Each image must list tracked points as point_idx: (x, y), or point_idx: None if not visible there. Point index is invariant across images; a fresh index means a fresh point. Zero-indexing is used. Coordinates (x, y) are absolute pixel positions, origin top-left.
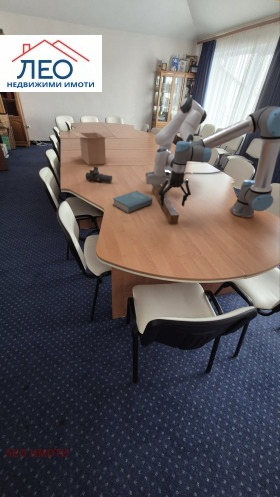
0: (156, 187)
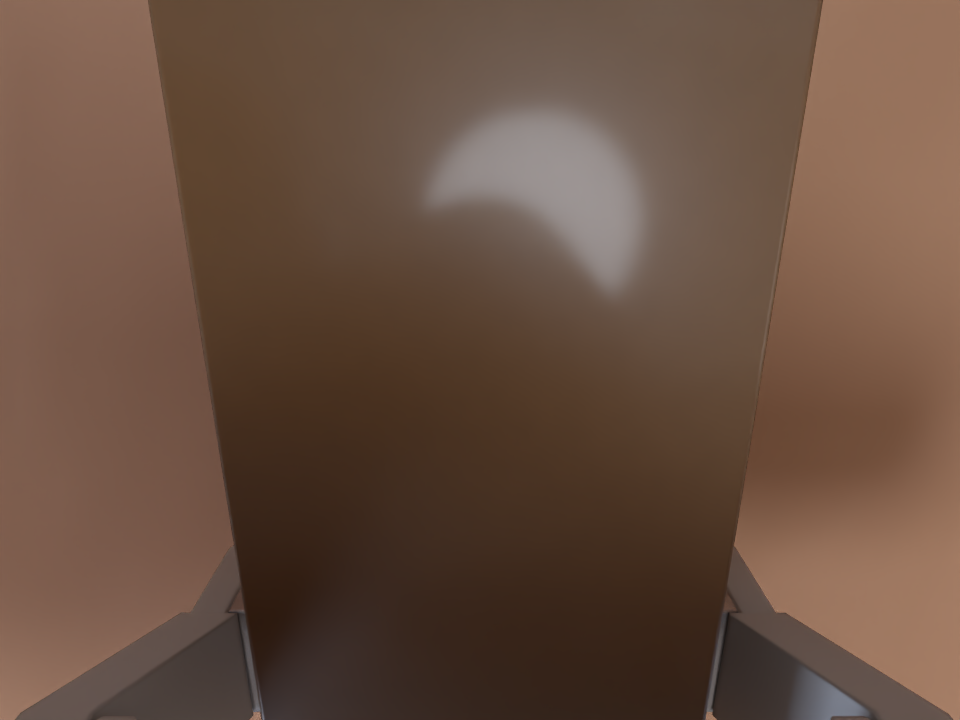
0: (714, 383)
